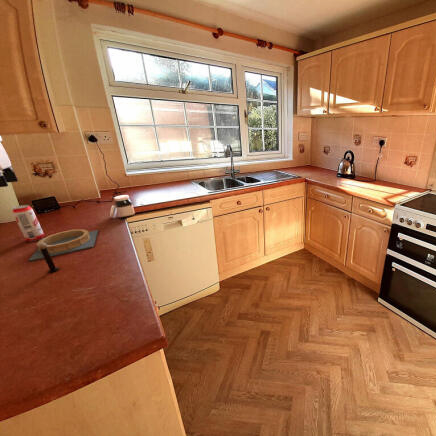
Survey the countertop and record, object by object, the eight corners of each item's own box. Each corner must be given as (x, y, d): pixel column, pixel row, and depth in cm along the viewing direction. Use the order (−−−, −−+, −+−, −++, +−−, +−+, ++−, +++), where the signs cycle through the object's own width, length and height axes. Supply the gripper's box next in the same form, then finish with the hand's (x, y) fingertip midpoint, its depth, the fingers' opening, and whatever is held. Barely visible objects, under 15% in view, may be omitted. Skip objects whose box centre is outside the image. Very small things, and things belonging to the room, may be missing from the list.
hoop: (34, 257, 96) (31, 250, 95) (46, 241, 109) (43, 235, 108) (87, 245, 104) (84, 239, 103) (92, 232, 117) (90, 226, 116)
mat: (29, 261, 94) (28, 260, 94) (44, 241, 110) (43, 240, 110) (93, 247, 103) (92, 246, 103) (98, 231, 119) (97, 230, 119)
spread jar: (137, 216, 136) (131, 196, 132) (113, 222, 129) (106, 201, 125) (131, 211, 145) (126, 192, 140) (109, 217, 137) (102, 197, 133)
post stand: (48, 273, 86) (34, 245, 82) (50, 270, 88) (37, 242, 84) (57, 271, 87) (44, 243, 83) (59, 267, 89) (47, 240, 85)
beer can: (25, 243, 109) (8, 210, 103) (28, 238, 113) (12, 206, 107) (44, 239, 112) (29, 206, 106) (46, 235, 117) (32, 203, 111)
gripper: (-19, 137, 92) (3, 181, 98) (-45, 139, 78) (-18, 190, 84) (9, 135, 95) (28, 178, 102) (-11, 137, 81) (12, 187, 88)
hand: (7, 184), depth 93 cm, fingers open, 9 cm apart
